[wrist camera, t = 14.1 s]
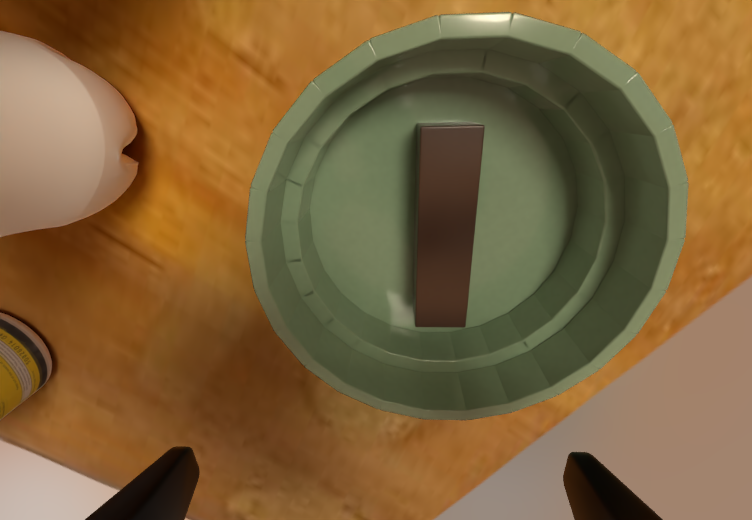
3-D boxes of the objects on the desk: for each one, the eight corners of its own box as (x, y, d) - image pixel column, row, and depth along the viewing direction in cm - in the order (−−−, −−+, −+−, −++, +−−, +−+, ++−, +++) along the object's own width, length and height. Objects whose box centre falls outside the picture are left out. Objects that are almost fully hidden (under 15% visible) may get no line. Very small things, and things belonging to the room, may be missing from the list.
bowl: (237, 107, 16) (165, 109, 11) (590, -13, 14) (705, -80, 9) (343, 365, 22) (328, 444, 17) (604, 312, 19) (677, 385, 14)
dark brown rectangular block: (457, 302, 19) (465, 328, 17) (412, 301, 19) (415, 327, 17) (472, 121, 15) (485, 124, 13) (416, 122, 15) (420, 126, 13)
